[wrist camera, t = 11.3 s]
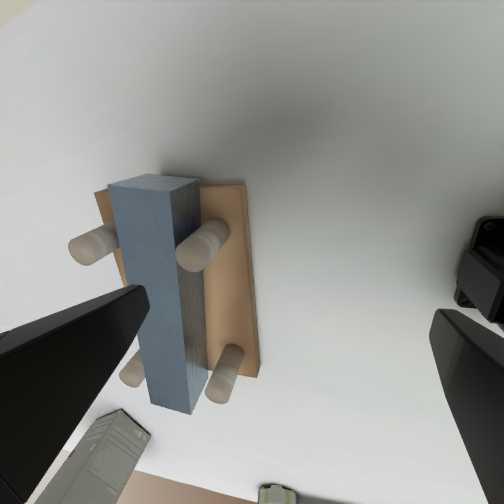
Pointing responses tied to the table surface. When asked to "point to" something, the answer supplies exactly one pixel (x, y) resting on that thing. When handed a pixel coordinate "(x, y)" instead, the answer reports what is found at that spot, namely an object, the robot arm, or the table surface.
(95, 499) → the skincare box
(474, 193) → the table surface
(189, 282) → the steel bar
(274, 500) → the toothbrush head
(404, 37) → the table surface
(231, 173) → the table surface
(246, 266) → the peg rack
